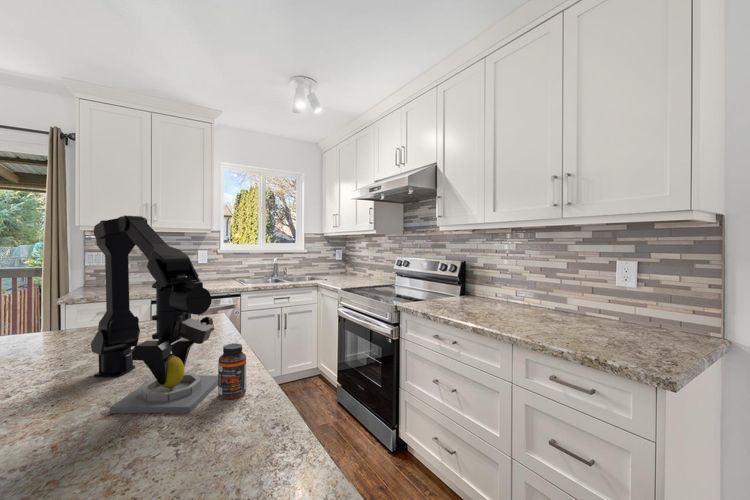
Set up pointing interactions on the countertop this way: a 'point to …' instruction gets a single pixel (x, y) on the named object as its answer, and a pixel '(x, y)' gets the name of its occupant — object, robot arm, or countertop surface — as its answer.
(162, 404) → the ring plate
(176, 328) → the robot arm
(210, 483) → the countertop surface
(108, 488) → the countertop surface
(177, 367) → the lemon
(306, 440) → the countertop surface
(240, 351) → the supplement bottle
